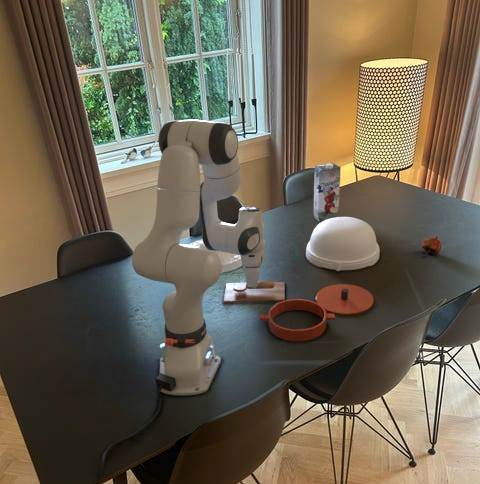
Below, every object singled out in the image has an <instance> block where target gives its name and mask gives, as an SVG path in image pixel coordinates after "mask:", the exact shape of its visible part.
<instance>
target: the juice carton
mask: <svg viewBox="0 0 480 484" xmlns="http://www.w3.org/2000/svg"><path fill="white" fill-rule="evenodd" d="M341 169H342V168H341V167H340V166H339V165H337V164H335V163H334V162H329V163H326V164H317V165H315V166H314V181H313V185H314V186H313V216H314V219H315V220H316V221H317V222H318V223H319V224H320V223H321V222H323V221H325V220H327V219H330V218H335V217H339V209H340V191H341V190H340V189H341Z"/></svg>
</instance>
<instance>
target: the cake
mask: <svg viewBox="0 0 480 484" xmlns="http://www.w3.org/2000/svg"><path fill="white" fill-rule="evenodd" d="M188 245H192V246H199V247H203V248H206V246H205V245H204V243H203V241H202V238H201V239H197V240H195V241H193V242H190V243H188ZM206 249H207V248H206ZM211 251H213V250H211ZM213 252H216V253H217V255H218V256H219V258H220V261H221V265H222V270H221V274H223V273H228V272H231V271H234V270H237V269H238V268H240V267H243V266H242V259H241V257H240V255H236V254H231V253H226V252H222V251H213Z"/></svg>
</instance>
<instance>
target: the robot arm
mask: <svg viewBox="0 0 480 484" xmlns="http://www.w3.org/2000/svg"><path fill="white" fill-rule="evenodd" d="M157 140H158V148H159V151H160V153H161V157H160V160H159V167H158V173H157V186H156V187H157V189H156V190H157V191H156V209H155V216H154V222H153V225H152V226H151V227H152V228H151V230H150V231H149V234H148V235H147V236H146V237H145V238H144V239H143V240H142V241H140V243H138V244H137V245H136V246H135V247H134V248H133V249H134V250H133V252H132V255H131V264H132V265H131V266H132V268H133V270H134V272H135V274H137V275H139V276H141V277H143V278H145V279H148V280H149V281H153V282H159V283H166V284H171V285H174V288H175V289H174V290H173V291H171V292H170V293H168V294H167V295H166V296H165V298H164V300H163V302H162V311H163V318H164V335H165V336H164V338H163V343H161V344H160V345H159V347H160V348H164V349H163V353H164V354H162V356H161V357H160V358H159V374H158V375H156V376H155V378H154V379H155V385H156V387H158V390H157V393H156V394H157V397H158V407H157V410H156V412H155V413H154V414H153V416H152V417H151V418H150V420H149V421H148V422H146V423H145V424H144V425H143V426H141V427H140V428H138V429H137V430H136V431H135V432H133V433H131V434H129V435H126V436H125V437H123V438H121V439H118V440H116V441H114V442H113V443H111V444H110V445H109V446H108V447H107V448H106V449H105V450H104V452H103V454H102V457H101V460H100V469H99V475H98V477H99V478H102V477H103V475H104V467H105V459H106V457H107V455H108V453H109V451H111V450H112V449H113V448H114V447H115V446H116V445H119V444H120V443H123V442H125V441H127V440H130V439H131V438H133V437H136V436H137V435H138V434H139V433H141V432H142V431H144V430H145V429H146V428H148V427H149V426H150V425H151V424H152V423H153V422H154V421H155V420H156V418H157V416H158V415H159V413H160V412H161V409H162V400H163V397H162V395H161V393H162V394H165V395H169V396H170V395H171V396H195V395H200V394H203V393H205V392H206V393H207V392H208V390H209V388H210V386H211V384H212V382H213V379H214V378H215V375H216V373H217V371H218V369H219V368H220V365H221V363H222V358H221V357H220V355H217V354H216V351H215V346H214V341H213V338H212V336H211V335H209V333H208V331H207V323H206V320H205V318H204V311H203V299H204V295H205V293H206V292H207V291H208V289H210V288H212V287H213V286H214V285H216V283H218V281H219V280H220V277H221V274H222V273H221V270H222V265H221V261H220V258H219V256H218V255H217V253H216V252H213V251H222V252H226V253H231V254H236V255H240V257H241V259H242V266H241V267H242V268H243V269H244V276H245V283H247V286H248V287H252V289H256V288H257V286H258V282H259V278H260V277H259V276H260V268H261V266H262V264H263V263H262V262H263V260H264V259H265V257H266V241H265V237H264V236H265V221H264V215H263V211H262V209H261V208H259V207H255V206H243V207H241V208H239V210H238V217H237V218H238V220H237V222H236V223H235V224H234V223H229V222H225V221H223V220H221V219H220V218H219V213H218V202H217V201H221V200H225V199H228V198H230V197H231V196H234V194H235V193H236V192H238V191H239V189H240V187H241V185H242V183H243V174H242V168H241V163H240V160H239V159H240V158H239V156H238V155H239V154H238V150H239V137H238V134H237V132H236V130H235V129H234V127H233V126H232V125H231V124H229V123H226V122H222V121H217V122H215V121H210V120H209V121H208V120H200V119H183V120H179V119H174V120H170V121H168V122H165V123H164V124H163V125H162V127H161V129H160V130H159V133H158V139H157ZM200 165H201V168H200ZM201 169H202V175H203V181H202V182H201ZM199 218H201V227H202V228H201V239H202V241H203V243H204V245H205V246H206V248H207V249H206V248H203V247H199V246H192V245H189V244H185V243H181V237H182V235H183V233H184V232H185V231H188V230H190V229H191V228H193V227H195V225H196V224H197V223H198V221H199ZM211 250H213V251H211Z"/></svg>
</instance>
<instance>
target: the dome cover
mask: <svg viewBox="0 0 480 484" xmlns="http://www.w3.org/2000/svg"><path fill="white" fill-rule="evenodd" d="M309 239H310V240H309V241H308V243H307V245H306V248H305V258H306V260H307V261H308V262H309V263H311V264H312V265H314V266H316V267H318V268H325V269H327V270H328V269H329V270H335V271H336V272H340V271H352V270H360V269H363V268H364V269H365V268H366V267H367V268H368V267H372V266H373V265H375V264H376V263H377V262H378V261H379V259H380V253H381V252H380V251H381V250H380V249H381V248H380V246H379V244H378V242H377V237H376V233H375V230H374V229H373V228H372V226H371V225H370V224H369V223H368V222H366V221H364V220H363V219H360V218H356V217H353V216H338V217H335V218H330V219H327V220H325V221H323V222H321V223H320V222H319V223H318V224H317V225H316V226H315V227H314V229H313V231H312V233H311V236H310V238H309Z"/></svg>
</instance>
